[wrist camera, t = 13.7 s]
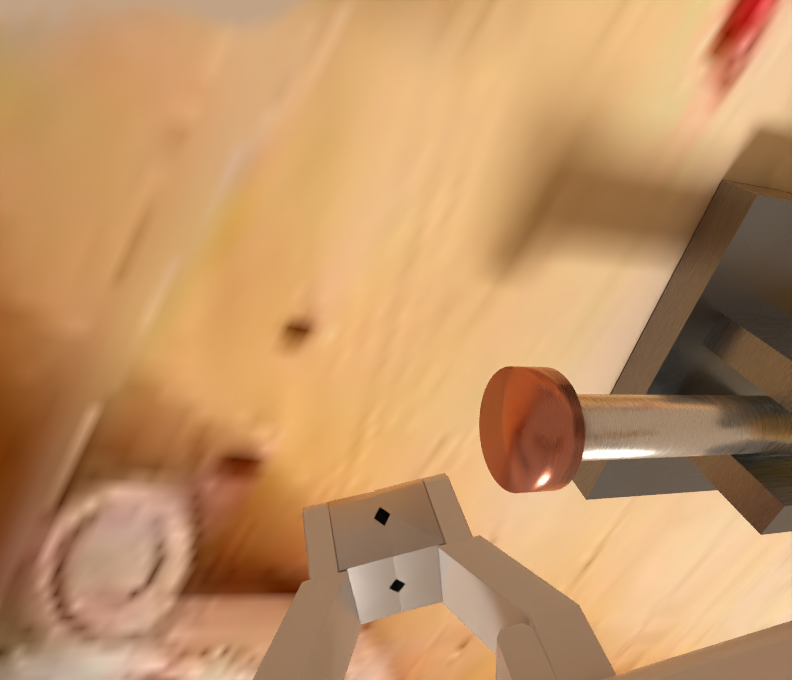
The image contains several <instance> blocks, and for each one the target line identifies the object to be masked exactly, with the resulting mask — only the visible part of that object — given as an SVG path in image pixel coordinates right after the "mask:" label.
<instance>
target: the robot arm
mask: <svg viewBox="0 0 792 680" xmlns="http://www.w3.org/2000/svg"><path fill="white" fill-rule="evenodd" d="M303 524H304V533H305V542H306V552H307V561H308V570H309V579H310V580H308V581H305V582H302V584H301V586H300V588H299V590H298V592H297V594H296V595H295V597H294V599H293V601H292V603H291V605H290V607H289V609H288V611H287V613H286V615H285V617H284V619H283V621H282V623H281V625H280V627H279V629H278V631H277V633H276V635H275V637H274V639H273V641H272V643H271V645H270V647H269V649H268V651H267V653H266V655H265V657H264V659H263V661H262V663H261V665H260V667H259V669H258V671H257V673H256V675H255V677H254V679H253V680H344V678H345V675H346V672H347V668H348V665H349V662H350V659H351V656H352V653H353V650H354V647H355V644H356V641H357V638H358V635H359V632H360V629H361V626H360V625H361V624H364V623H367V622H371V621H374V620H377V619H380V618H384V617H387V616H390V615H393V614H397V613H400V612H401V611H402V612H404V611H408V610H412V609H416V608H420V607H424V606H428V605H432V604H436V603H440V602H443V604H444V605H445V606H446V607H447V608H448V609H449V610H450V611H451V612H452V613H453V614H454V615H455V616H456V617H457V618H458V619H459V620H460V621H461V622H462V623H463V624H464V625H466V626H467V627H468V628H469V629H470V630H471V631H472V632H473V633H474V634H475V635H476V636H477V637H478V638H479V639H480V640H481V641H482V642H483V643H484V644H485V645H486V646H487V647H488V648H489V649H490V650H491V651H492V652H493V653H495V654H496V680H792V621H789V622H786V623H783V624H779V625H776V626H773V627H770V628H767V629H763V630H760V631H757V632H754V633H750V634H747V635H744V636H741V637H738V638H734V639H731V640H728V641H725V642H721V643H718V644H715V645H712V646H708V647H705V648H702V649H699V650H696V651H692V652H689V653H686V654H683V655H679V656H676V657H673V658H670V659H667V660H663V661H660V662H657V663H654V664H650V665H647V666H644V667H641V668H637V669H634V670H631V671H628V672H624V673H621V674H618V675H616V673H615V672H614V670H613V668H612V666H611V664H610V662H609V660H608V658H607V657H606V655H605V653H604V651H603V649H602V647H601V645H600V643H599V642H598V640H597V638H596V636H595V634H594V632H593V630H592V628H591V627H590V625H589V623H588V621H587V619H586V617H585V615H584V613H583V612H582V610H581V608H580V606H579V605H578V604H577V603H576V602H574V601H573V600H571V599H570V598H568V597H567V596H566V595H564V594H563V593H561V592H560V591H558V590H557V589H556V588H554V587H553V586H551V585H550V584H548V583H547V582H546V581H544V580H543V579H541V578H540V577H538V576H537V575H536V574H534V573H533V572H531V571H530V570H528V569H527V568H526V567H524V566H523V565H521V564H520V563H519V562H517V561H516V560H514V559H513V558H511V557H510V556H509V555H507V554H506V553H504V552H503V551H501V550H500V549H499V548H497V547H496V546H494V545H493V544H491V543H490V542H489V541H487V540H486V539H484V538H483V537H481V536H480V535H479V536H475V537H473V536H472V534H471V531H470V529H469V526H468V524H467V521H466V519H465V517H464V514H463V512H462V509H461V507H460V505H459V502H458V500H457V497H456V495H455V492H454V490H453V488H452V485H451V483H450V480H449V478H448V476H447V475H446V474H445V473H444V474H439V475H435V476H431V477H427V478H423V479H422V480H421V479H418V480H414V481H410V482H406V483H402V484H398V485H394V486H391V487H387V488H383V489H379V490H375V492H370V493H365V494H361V495H356V496H352V497H347V498H343V499H338V500H333V501H329V502H325V503H321V504H317V505H312V506H308V507H304V508H303Z"/></svg>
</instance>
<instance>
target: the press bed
mask: <svg viewBox="0 0 792 680" xmlns="http://www.w3.org/2000/svg"><path fill="white" fill-rule="evenodd" d="M611 395H768V396H769V397H771V398H772V399H773V400H774V401H776V402H777V403H778V404H780V405H781V406H782V407H783V408H785V409H786V410H787V411H789V412H790V413H791V414H792V193H789V192H784V191H779V190H773V189H768V188H763V187H757V186H752V185H747V184H741V183H736V182H731V181H725V180H722V182H721V184H720V186H719V188H718V190H717V192H716V194H715V196H714V197H713V199H712V201H711V203H710V205H709V207H708V209H707V211H706V213H705V215H704V217H703V219H702V220H701V222H700V224H699V226H698V228H697V230H696V232H695V234H694V236H693V238H692V240H691V242H690V243H689V245H688V247H687V249H686V251H685V253H684V255H683V257H682V259H681V261H680V263H679V265H678V266H677V268H676V270H675V272H674V274H673V276H672V278H671V280H670V282H669V284H668V286H667V288H666V289H665V291H664V293H663V295H662V297H661V299H660V301H659V303H658V305H657V307H656V309H655V310H654V312H653V314H652V316H651V318H650V320H649V322H648V324H647V326H646V328H645V330H644V332H643V333H642V335H641V337H640V339H639V341H638V343H637V345H636V347H635V349H634V351H633V353H632V355H631V356H630V358H629V360H628V362H627V364H626V366H625V368H624V370H623V372H622V374H621V376H620V378H619V379H618V381H617V383H616V385H615V387H614V389H613V391H612V393H611ZM572 480H573V482H574V483H575V484H576V486H577V487H578V489H579V490H580V492H581V493H582V494H583V496H584V497H585V499H586V500H588V499H601V498H615V497H629V496H642V495H656V494H670V493H683V492H697V491H710V490H718V491H719V492H720V493H721V494H722V495H723V496H724V497H725V498H726V499H727V500H728V501H729V502H730V503H731V504H732V505H733V506H734V507H735V508H736V509H737V510H738V511H739V512H740V514H741V515H742V516H743V517H744V518H745V519H746V520H747V521H748V522H749V523H750V524H751V525H752V526H753V527H754V528H755V529H756V530H757V531H758V532H759V533H760V534H761V535H763V534H772V533H780V532H789V531H792V452H774V453H752V454H729V455H706V456H684V457H661V458H638V459H616V460H593V461H581V464H580V466H579V469H578V471H577V473H576V475H575V476H574V478H573V479H572Z"/></svg>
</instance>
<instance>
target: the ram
mask: <svg viewBox="0 0 792 680" xmlns="http://www.w3.org/2000/svg"><path fill="white" fill-rule="evenodd" d="M479 429H480V441H481V447H482V451H483V455H484V458H485V461H486V464H487V467H488V469H489V471H490V473H491V475H492V476H493V478H494V479H495V481H496V482H497V483H498V484H499V485H500V486H501V487H502V488H503V489H505V490H507V491H509V492H512V493H525V492H540V491H555V490H559V489H561V488H563V487H565V486H566V485H567V484H569V483H570V481H571V480H572V479H573V478H574V476H575V475H576V473H577V471H578V469H579V466H580V464H581V461H593V460H616V459H638V458H661V457H684V456H706V455H729V454H752V453H774V452H792V414H791V413H790V412H789V411H787V410H786V409H785V408H783V407H782V406H781V405H780V404H778V403H777V402H776V401H774V400H773V399H772V398H771V397H769V396H768V395H605V394H576V392H575V390H574V388H573V387H572V385H571V384H570V382H569V381H568V380H567V378H566V377H565V376H564V375H563V374H561V373H560V372H558V371H557V370H555V369H552V368H548V367H513V366H509V367H504V368H502V369H500V370H499V371H497V372H496V373H495V374H494V375H493V376H492V378H491V379H490V381H489V383H488V384H487V387H486V389H485V392H484V395H483V398H482V402H481V408H480V419H479Z"/></svg>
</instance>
